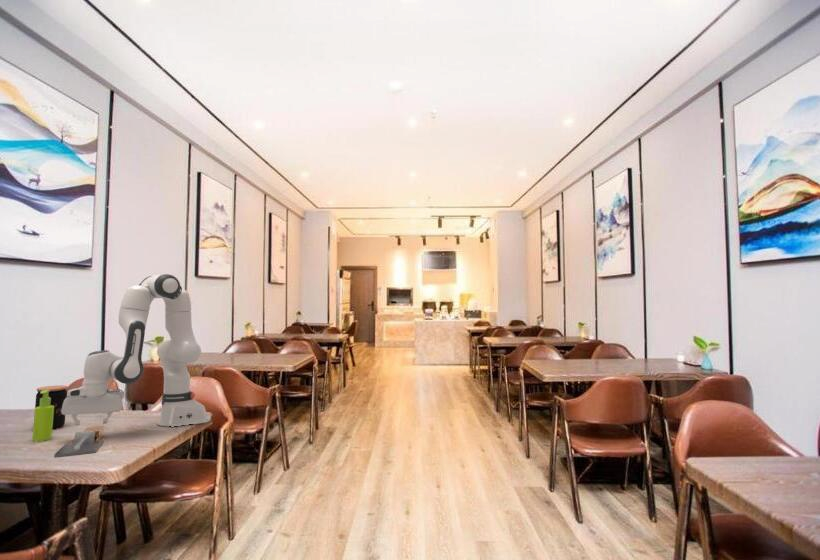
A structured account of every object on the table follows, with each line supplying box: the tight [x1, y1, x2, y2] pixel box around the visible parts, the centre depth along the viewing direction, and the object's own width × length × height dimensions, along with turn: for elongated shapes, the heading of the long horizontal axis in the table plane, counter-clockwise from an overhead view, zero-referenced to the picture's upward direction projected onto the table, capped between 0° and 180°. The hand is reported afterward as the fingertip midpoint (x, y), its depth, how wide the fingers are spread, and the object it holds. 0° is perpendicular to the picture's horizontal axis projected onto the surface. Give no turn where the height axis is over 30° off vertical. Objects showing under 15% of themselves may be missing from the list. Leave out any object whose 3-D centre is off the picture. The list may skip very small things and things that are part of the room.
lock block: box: [82, 425, 105, 441], centre depth 173 cm, size 6×9×4 cm, turn 26°
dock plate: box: [53, 430, 104, 458], centre depth 159 cm, size 12×14×5 cm
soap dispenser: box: [32, 390, 54, 442], centre depth 171 cm, size 6×7×20 cm
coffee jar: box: [34, 385, 68, 430], centre depth 188 cm, size 11×11×18 cm
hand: (91, 424), depth 172 cm, fingers open, 8 cm apart
